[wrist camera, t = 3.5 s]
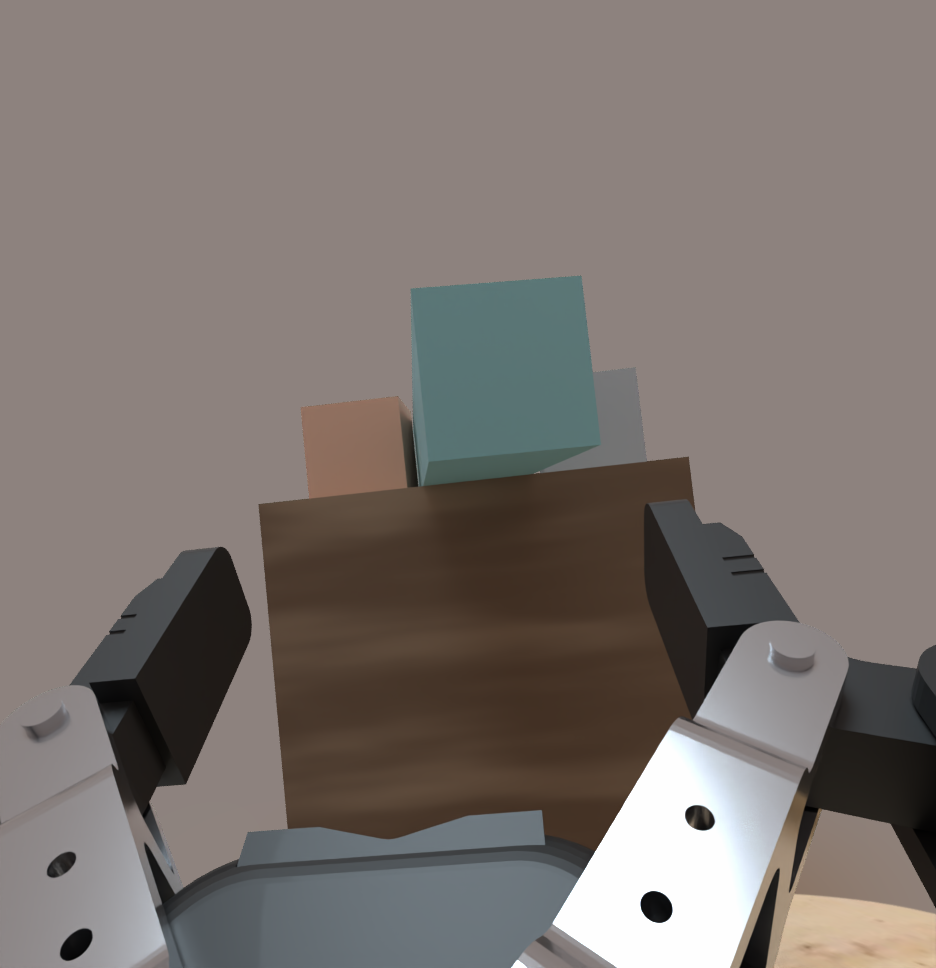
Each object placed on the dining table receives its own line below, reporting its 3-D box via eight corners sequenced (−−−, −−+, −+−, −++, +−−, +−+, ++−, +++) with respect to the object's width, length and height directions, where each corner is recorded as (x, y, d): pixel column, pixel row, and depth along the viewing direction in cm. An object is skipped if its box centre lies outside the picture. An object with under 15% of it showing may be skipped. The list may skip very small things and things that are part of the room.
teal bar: (601, 445, 15) (581, 275, 16) (428, 461, 15) (410, 288, 15) (487, 492, 39) (480, 426, 39) (420, 500, 39) (413, 432, 39)
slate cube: (647, 468, 29) (635, 367, 29) (545, 479, 30) (534, 379, 30) (630, 473, 34) (619, 386, 34) (541, 483, 34) (531, 397, 34)
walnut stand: (805, 1399, 22) (688, 456, 24) (339, 1406, 23) (258, 504, 25) (689, 1043, 37) (622, 478, 39) (408, 1058, 38) (354, 507, 40)
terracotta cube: (407, 494, 30) (397, 396, 30) (310, 504, 30) (300, 407, 30) (419, 497, 35) (410, 411, 35) (334, 506, 35) (325, 421, 35)
